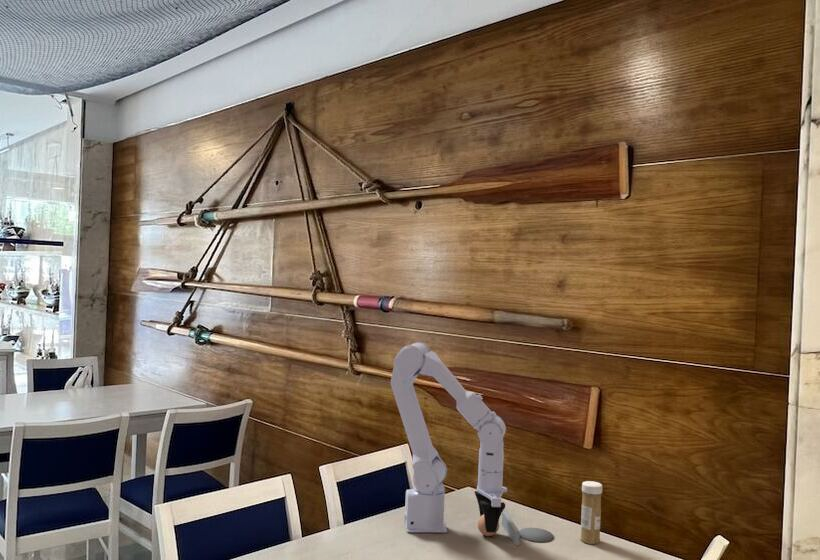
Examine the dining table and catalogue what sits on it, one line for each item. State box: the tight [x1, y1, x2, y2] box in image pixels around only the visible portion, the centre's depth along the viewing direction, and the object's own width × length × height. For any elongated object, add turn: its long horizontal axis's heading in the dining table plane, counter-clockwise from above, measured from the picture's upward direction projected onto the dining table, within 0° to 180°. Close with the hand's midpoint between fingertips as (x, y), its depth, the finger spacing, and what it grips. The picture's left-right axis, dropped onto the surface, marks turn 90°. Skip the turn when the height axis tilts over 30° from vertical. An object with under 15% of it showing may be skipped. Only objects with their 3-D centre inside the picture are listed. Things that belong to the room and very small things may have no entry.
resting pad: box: [519, 527, 554, 543], centre depth 156 cm, size 8×8×1 cm
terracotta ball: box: [477, 515, 500, 537], centre depth 155 cm, size 5×5×5 cm
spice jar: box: [580, 480, 603, 545], centre depth 154 cm, size 5×5×14 cm
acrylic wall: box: [501, 510, 520, 546], centre depth 157 cm, size 1×13×3 cm, turn 5°
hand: (488, 527), depth 155 cm, fingers closed on terracotta ball, 5 cm apart
